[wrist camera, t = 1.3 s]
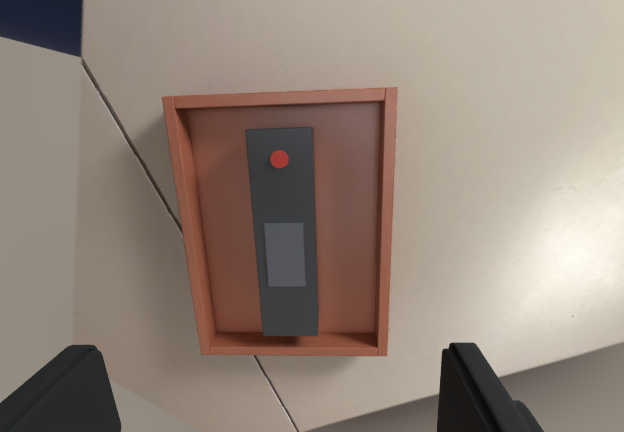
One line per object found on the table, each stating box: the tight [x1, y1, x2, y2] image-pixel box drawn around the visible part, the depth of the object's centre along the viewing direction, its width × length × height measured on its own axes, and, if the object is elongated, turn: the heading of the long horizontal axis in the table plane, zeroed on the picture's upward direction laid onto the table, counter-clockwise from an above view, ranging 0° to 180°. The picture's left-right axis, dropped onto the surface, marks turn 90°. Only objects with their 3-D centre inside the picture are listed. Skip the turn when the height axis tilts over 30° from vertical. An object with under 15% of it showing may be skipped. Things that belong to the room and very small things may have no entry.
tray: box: [162, 87, 397, 356], centre depth 25 cm, size 16×21×3 cm
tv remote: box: [245, 127, 319, 336], centre depth 25 cm, size 4×16×3 cm, turn 2°
